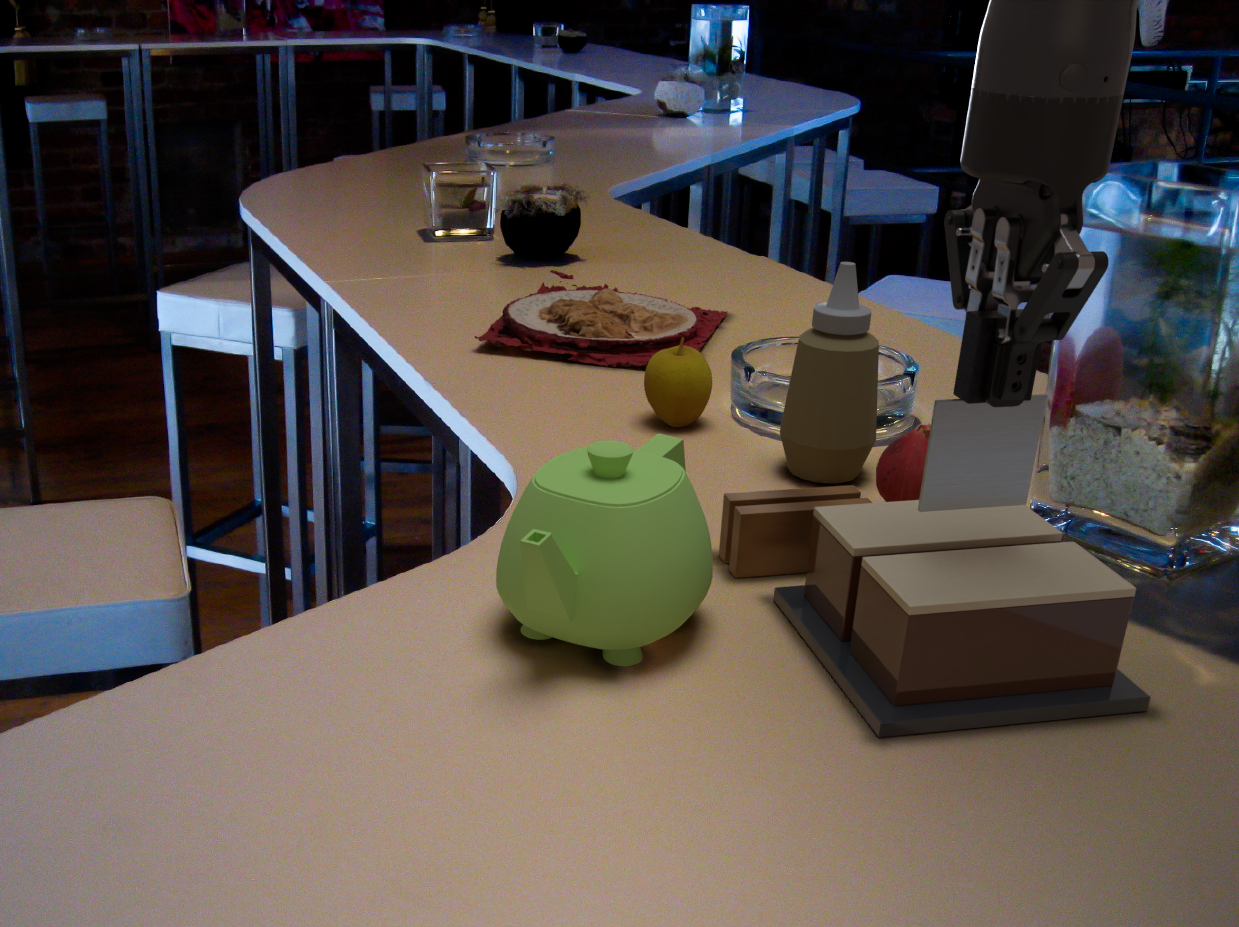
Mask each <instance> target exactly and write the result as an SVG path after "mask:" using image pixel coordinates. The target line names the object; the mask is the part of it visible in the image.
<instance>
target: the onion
mask: <svg viewBox="0 0 1239 927" xmlns="http://www.w3.org/2000/svg"><path fill="white" fill-rule="evenodd" d="M930 428H931V422H929V423H928V422H922V423H920V424H918V425H917V426H916V427H915V428H914V429H912V430H910V431H908V432H905V433H904V434H902V435H900V436H899V437H897V438H896V439H894V440H893V441H892V442H891V443H889V445H887V447H886V448H885V449H884V450H883V451H882V453H881V455H880V456H879V458H878V460H877V464H876V468H875V486H876V489H877V491H878V494H879V496H880V497H881V498H882V499H883V500H884V502H896V501H910V500H919V498H920V491H921V485H922V479H923V472H924V466H925V460H926V453H927V447H928V440H929V434H930Z"/></svg>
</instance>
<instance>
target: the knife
mask: <svg viewBox="0 0 1239 927" xmlns="http://www.w3.org/2000/svg"><path fill="white" fill-rule="evenodd" d="M1023 309H1024V308H1017V315H1016V321H1017V319H1018V318H1019V316H1020V314H1021V312H1022V311H1023ZM997 311H998V310H987V311H968V312H967V313H966V312H965V317H964V318H965V320H964V324H963V332H962V337H961V343H960V349H959V356H958V362H957V368H956V374H955V379H954V380H955V381H954V386H953V393H952V394H953V395H954V396H955V397H957V398H952V399H951V398H948V399H947V398H946V399H934V403H933V409H932V415H931V421H930V425H931V428H930V434H929V440H928V447H927V453H926V460H925V466H924V472H923V479H922V485H921V491H920V498H919V504H918V511H919V512H927V511H941V510H956V509H971V508H985V507H1000V506H1015V505H1026V506H1027V502H1028V497H1029V491H1030V487H1031V483H1032V476H1033V472H1034V466H1035V462H1036V457H1037V452H1038V446H1039V441H1040V438H1041V437H1040V436H1041V432H1042V427H1043V420H1044V417H1045V410H1046V406H1047V400H1048V395H1047V394H1046V393H1045V394H1043V393H1042V394H1033V391H1034V385H1035V380H1036V376H1037V375H1036V374H1037V370H1038V364H1039V359H1040V356H1041V349H1042V343H1043V342H1040V343H1039V344H1038V345H1037V346H1036V348H1035V352H1034V357H1033V362H1032V368H1031V373H1030V375H1029V376H1030V378H1029V381H1028V389H1027V393H1026V395H1025V399H1024V401H1023V403H1022V404H1020V405H1019V406H1013V407H992V406H991V405H989V404H987V403H986V402H985V401H984V392H985V386H986V381H987V375H988V369H989V363H990V358H991V352H992V346H993V342H996V339H995V326H996V319H997Z"/></svg>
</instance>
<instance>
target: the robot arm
mask: <svg viewBox="0 0 1239 927" xmlns="http://www.w3.org/2000/svg"><path fill="white" fill-rule="evenodd" d="M1138 1H1139V0H989V2H988V5H987V9H986V12H985V15H984V19H983V22H982V25H981V29H980V33H979V38H978V44H977V51H976V57H975V64H974V69H973V77H972V81H971V82H972V83H971V90H970V96H969V102H968V110H967V113H966V114H967V115H966V122H965V128H964V135H963V140H962V148H961V152H960V153H961V154H960V161H959V164H960V167H961V169H962V171H963V172H964V173H966V174H967V175H969V176H971V177H974V178H977V179H978V182H977V185H976V188H975V189H974V192H973V193H972V198H971V204H970V205H969V206H967V207H966V208H965V209H963V208H961V209H949V210H947V211H946V213H945V215H944V220H943V226H944V236H945V243H946V250H947V251H946V254H947V262H948V270H949V280H950V281H949V282H950V290H951V291H950V292H951V299H952V306H953V308H954V309H955V310H957V311H958V310H959V311H960V310H964V312H965V314H966V313H967V312H968V311H987V310H998V311H997V319H996V326H995V339H996V342H993V346H992V352H991V358H990V363H989V369H988V375H987V381H986V386H985V392H984V401H985V402H986V403H987V404H989V405H991V406H992V407H1013V406H1019V405H1020V404H1022V403H1023V401H1024V399H1025V395H1026V393H1027V389H1028V381H1029V378H1030V376H1029V375H1030V373H1031V368H1032V362H1033V357H1034V352H1035V348H1036V346H1037V345H1038V344H1039V343H1040V342H1042V343H1043V342H1051V341H1062V340H1063V339H1065V337H1066V335H1067V334H1068V332H1069V331H1070V330H1071V327H1072V326H1073V325H1074V322H1075V321H1076V320H1077V318H1078V316H1079V315H1080V314H1081V312H1082V310H1083V308H1085V306H1086V304H1087V302H1088V301H1089V300H1090V297H1091V296H1092V294H1093V293H1094V291H1095V289H1096V288H1097V287H1098V284H1099V283H1100V282H1101V280H1102V278H1103V277H1104V275H1105V274H1106V272H1107V270H1108V268H1109V256H1108V254H1107V252H1105V251H1103V250H1097V251H1096V250H1095V251H1089V249H1088V247H1087V246H1086V244H1085V242H1084V241H1083V238H1082V237H1081V233H1082V230H1083V227H1084V211H1083V199H1084V192H1085V190H1086V189H1087V188H1088V187H1089V186H1090V185H1091V184H1096V183H1097V182H1098V183H1099V182H1100V181H1102V180H1103V179H1104V178H1105V177H1106V176H1107V174H1108V172H1109V169H1110V165H1111V161H1112V154H1113V150H1114V145H1115V141H1116V136H1117V130H1118V126H1119V120H1120V115H1121V110H1122V105H1123V101H1124V96H1125V89H1126V84H1127V80H1128V76H1129V70H1130V65H1131V60H1132V56H1133V51H1134V45H1135V39H1136V31H1137V30H1136V28H1137V10H1138ZM1031 282H1037V283H1035V284H1031ZM1023 303H1026V304H1025V306H1024V307H1023V308H1022V309H1023V311H1022V312H1021V314H1020V316H1019V318H1018V319H1017V321H1016V315H1017V309H1019V306H1020V305H1021V304H1023ZM1050 314H1051V316H1050ZM1049 316H1050V317H1049Z"/></svg>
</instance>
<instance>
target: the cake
mask: <svg viewBox="0 0 1239 927" xmlns="http://www.w3.org/2000/svg"><path fill="white" fill-rule="evenodd" d="M918 504H919V500H910V501H896V502H886V501H884V502H883V501H882V502H872V503H866V504H851V505H836V506H821V507H814V513H813V515H814V516H813V522H812V531H811V539H810V548H809V556H808V565H807V572H806V573H805V574H806V575H805V581H804V582H805V583H804V584H803V585H790V586H789V585H788V586H776V587H775V588H774V592H773V593H774V594H773V602H774V603H775V604H776V605H777V607H778V608H779V609H780V610H781V612H782V613H783V614H784V616H785V617H786V618H787V620H788V621H789V622H790V624H791V625H792V626H793V628H794V629H795V630H796V631H797V633H798V634H799V635H800V637H801V638H802V639H803V640H804V642H805V643H806V644H807V645H808V648H810V649H811V651H812V652H813V653H814V655H815V656H816V657H817V659H818V660H819V661H820V662H821V664H822V665H823V667H824V668H825V669H826V670H827V672H828V673H829V675H830V676H831V677H832V679H833V680H834V681H835V682H836V684H837V685H838V686H839V688H840V689H841V690H842V692H843V693H844V694H845V695H846V696H847V698H848V699H849V701H850V702H851V703H852V704H853V706H854V707H855V708H856V710H857V711H858V712H859V713H860V715H861V716H862V718H863V719H864V721H866V723H867V724H868V725H869V727H870V728H871V730H873V732H874V733H875V735H876V736H877V737H878V738H888V737H897V736H899V737H900V736H906V735H907V736H908V735H917V734H928V733H939V732H947V731H948V732H949V731H958V730H959V731H960V730H968V729H977V728H988V727H990V728H991V727H997V726H998V727H999V726H1009V725H1019V724H1028V723H1029V724H1030V723H1039V722H1048V721H1050V722H1051V721H1059V720H1069V719H1079V718H1089V717H1091V718H1092V717H1098V716H1099V717H1100V716H1109V715H1120V714H1128V713H1129V714H1131V713H1139V712H1140V713H1141V712H1147V711H1148V709H1149V707H1150V706H1149V705H1150V702H1151V696H1150V695H1149V694H1148V693H1146V691H1144V690H1143V689H1142V688H1141V687H1140V686H1138V685H1137V684H1136V683H1135V682H1134V681H1133V680H1131V679H1130V678H1129V677H1128V676H1127V675H1126V674H1124V672H1122V671H1121V670H1120V669H1118V666H1119V662H1120V657H1121V654H1122V650H1123V646H1124V641H1125V637H1126V633H1127V630H1128V625H1129V620H1130V617H1131V613H1132V610H1133V604H1134V601H1135V596H1136V591H1137V587H1136V586H1135V585H1133V584H1132V583H1130V581H1127V580H1126V578H1124V577H1122V576H1121V575H1120V574H1118V573H1117V572H1116V571H1114V570H1113V569H1112V568H1111V567H1109V566H1108V565H1106V564H1105V563H1104V562H1102V560H1100V559H1098V558H1097V557H1096V556H1094V554H1091V553H1090V552H1089V551H1088V550H1086V549H1084V547H1082V546H1081V545H1079V544H1078V543H1077V542H1075V541H1062V539H1063V532H1062V531H1061V530H1059V529H1058V528H1057V527H1056V526H1054V525H1052V523H1050V522H1049V521H1047V520H1046V519H1045V518H1043V517H1042V516H1041V515H1040V514H1038V513H1037V512H1035V511H1034V510H1033V509H1031V508H1030V507H1029V506H1027V504H1026V505H1015V506H1000V507H985V508H971V509H956V510H941V511H927V512H919V511H918ZM1061 541H1062V542H1061Z"/></svg>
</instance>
